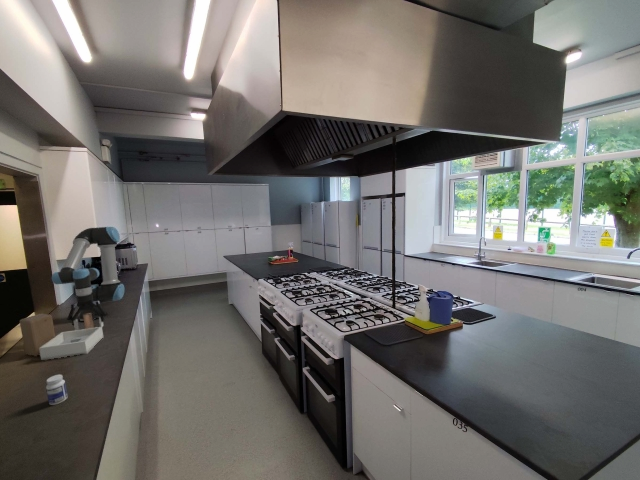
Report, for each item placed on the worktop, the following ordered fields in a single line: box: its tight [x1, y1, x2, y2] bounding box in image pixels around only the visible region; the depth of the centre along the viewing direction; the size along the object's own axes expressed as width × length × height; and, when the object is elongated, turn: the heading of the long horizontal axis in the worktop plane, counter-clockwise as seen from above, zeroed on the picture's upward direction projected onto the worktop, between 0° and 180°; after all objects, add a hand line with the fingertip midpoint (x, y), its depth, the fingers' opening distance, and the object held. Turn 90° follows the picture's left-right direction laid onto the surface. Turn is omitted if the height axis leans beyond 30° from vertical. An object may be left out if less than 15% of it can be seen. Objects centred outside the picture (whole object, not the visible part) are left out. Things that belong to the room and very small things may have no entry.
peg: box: [83, 313, 95, 329], centre depth 176 cm, size 4×4×14 cm
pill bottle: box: [45, 374, 68, 406], centre depth 116 cm, size 6×6×10 cm
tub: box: [39, 326, 104, 361], centre depth 161 cm, size 20×20×7 cm
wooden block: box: [19, 313, 56, 357], centre depth 158 cm, size 10×10×20 cm
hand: (89, 328), depth 176 cm, fingers open, 12 cm apart
